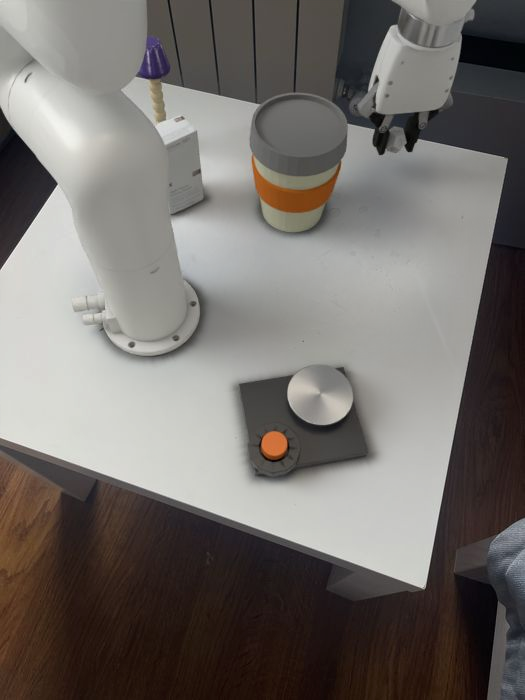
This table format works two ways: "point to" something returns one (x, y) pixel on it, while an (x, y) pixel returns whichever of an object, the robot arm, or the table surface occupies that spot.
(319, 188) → the reusable coffee cup
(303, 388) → the weighing pan
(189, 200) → the cosmetic box
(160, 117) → the toy lamp
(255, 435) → the scale
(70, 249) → the table surface
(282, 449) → the tare button
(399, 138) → the game die
